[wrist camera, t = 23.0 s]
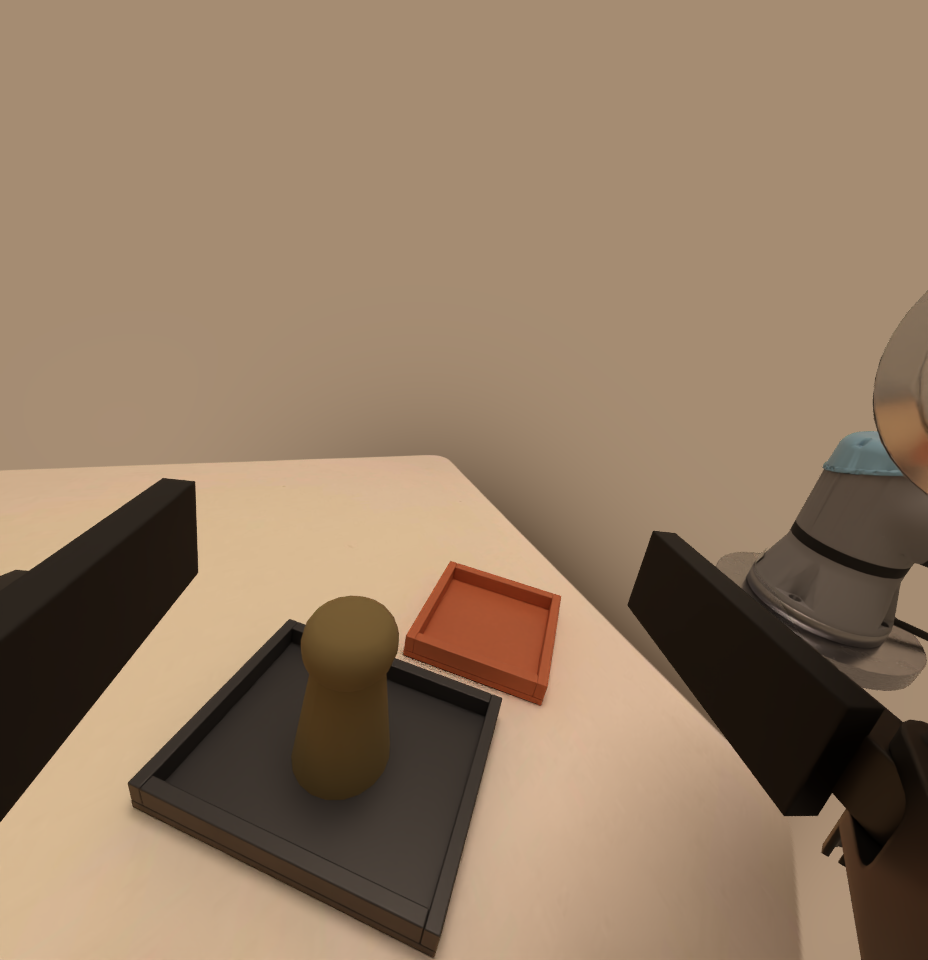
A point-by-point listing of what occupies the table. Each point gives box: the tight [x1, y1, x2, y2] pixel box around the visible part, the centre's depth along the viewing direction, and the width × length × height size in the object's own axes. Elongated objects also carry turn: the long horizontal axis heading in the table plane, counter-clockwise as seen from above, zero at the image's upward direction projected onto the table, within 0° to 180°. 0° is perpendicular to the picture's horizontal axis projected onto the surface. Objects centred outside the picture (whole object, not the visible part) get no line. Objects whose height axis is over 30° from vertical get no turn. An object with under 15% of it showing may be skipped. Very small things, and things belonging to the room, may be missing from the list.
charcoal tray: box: [128, 619, 502, 957], centre depth 28 cm, size 18×14×2 cm
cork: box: [291, 596, 399, 800], centre depth 26 cm, size 6×6×11 cm
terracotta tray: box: [403, 561, 561, 705], centre depth 41 cm, size 12×12×2 cm
